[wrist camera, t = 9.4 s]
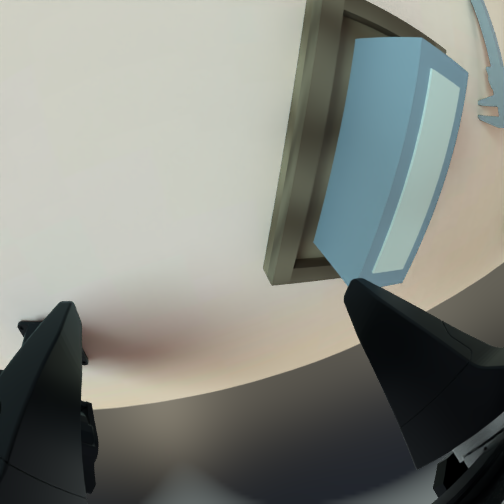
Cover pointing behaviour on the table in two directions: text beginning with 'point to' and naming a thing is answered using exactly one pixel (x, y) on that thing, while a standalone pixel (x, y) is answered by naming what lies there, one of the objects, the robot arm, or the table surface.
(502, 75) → the caliper
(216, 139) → the table surface
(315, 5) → the tray
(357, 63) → the frame block
